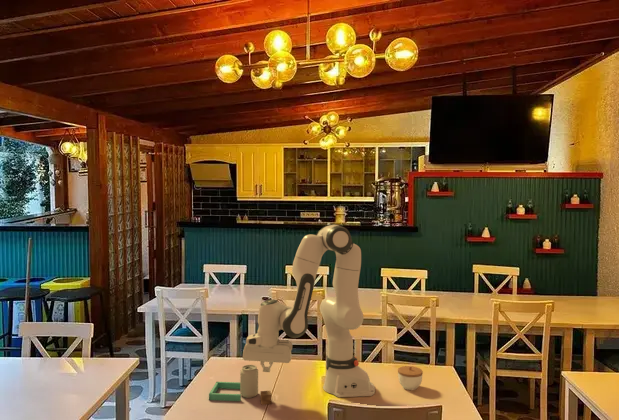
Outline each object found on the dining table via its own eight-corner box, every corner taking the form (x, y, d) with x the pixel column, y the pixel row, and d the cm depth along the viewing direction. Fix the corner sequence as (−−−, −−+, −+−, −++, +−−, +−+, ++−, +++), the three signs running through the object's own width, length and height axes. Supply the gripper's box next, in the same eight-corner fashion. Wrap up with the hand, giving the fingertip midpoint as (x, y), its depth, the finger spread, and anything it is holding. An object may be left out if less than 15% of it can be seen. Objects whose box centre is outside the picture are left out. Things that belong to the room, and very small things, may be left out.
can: (249, 389, 217) (249, 362, 216) (261, 394, 212) (262, 366, 211) (236, 395, 211) (236, 367, 210) (248, 400, 206) (249, 371, 205)
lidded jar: (406, 380, 229) (407, 360, 229) (427, 387, 221) (427, 366, 221) (392, 387, 221) (393, 366, 221) (413, 394, 214) (413, 373, 213)
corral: (246, 388, 218) (246, 382, 218) (240, 401, 205) (240, 395, 205) (216, 387, 219) (216, 381, 219) (208, 400, 206) (208, 394, 206)
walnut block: (270, 400, 207) (270, 390, 207) (271, 404, 203) (271, 394, 203) (260, 400, 206) (260, 391, 206) (261, 405, 202) (261, 395, 202)
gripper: (293, 338, 212) (291, 370, 213) (245, 335, 213) (244, 367, 214) (291, 342, 206) (290, 375, 206) (242, 339, 207) (241, 372, 208)
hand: (266, 371), depth 210 cm, fingers closed
